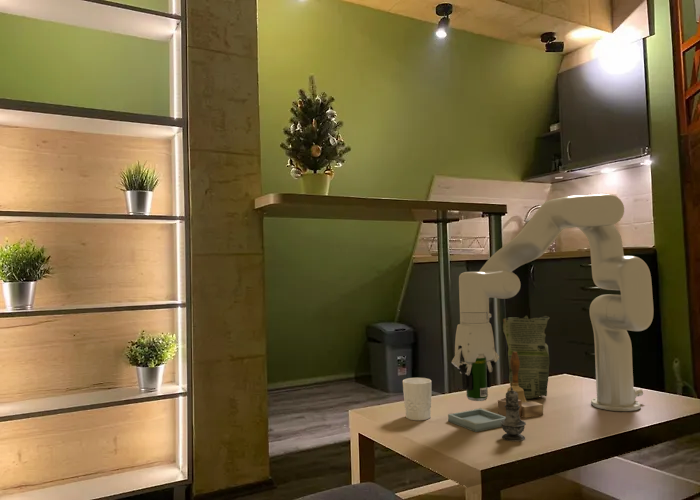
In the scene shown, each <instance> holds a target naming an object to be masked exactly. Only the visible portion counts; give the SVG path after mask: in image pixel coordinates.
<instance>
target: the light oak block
mask: <svg viewBox="0 0 700 500" xmlns="http://www.w3.org/2000/svg"><path fill="white" fill-rule="evenodd" d="M543 415H544V405H543V404H542V403H540V402H537V401H527V402H524V403H522V416H523V417H522V418H530V416H532V417H537V416H543Z"/></svg>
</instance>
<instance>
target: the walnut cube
mask: <svg viewBox="0 0 700 500" xmlns="http://www.w3.org/2000/svg"><path fill="white" fill-rule="evenodd" d="M505 405H506V397H505V398H501V399H497V414H499V415H502V416H505V417H506V408H505V407H504V406H505ZM518 405H519V406H520V408H519V416H520V418H523V417H522V401H521V400H518Z"/></svg>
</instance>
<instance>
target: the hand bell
mask: <svg viewBox="0 0 700 500" xmlns="http://www.w3.org/2000/svg"><path fill="white" fill-rule="evenodd" d="M510 365H511V370H512V380H513V381H512V386H510V387H508V388H507V390H506V391H507V392H508V391H510V390H511V387H512V388H513V391H515V392H517V393H518V400H521V401H522V403H524V402H528V400H527V399H525V395H524V390H523V389H522V388H521V387H519V385H518V371H519V367H520V361H519V357H518V354H517V352H512V356H511V360H510ZM507 392H506V393H507Z"/></svg>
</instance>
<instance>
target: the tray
mask: <svg viewBox="0 0 700 500" xmlns="http://www.w3.org/2000/svg"><path fill="white" fill-rule="evenodd" d="M447 417H448V418H447V420H448V422H449V423H452V424H454V425H457V426H460V427H462V428H465V429H467V430H469V431H472V432H474V433H477V432H482V431H486V430H487V431H488V430H492V429H497V428H502V424H501V423H500V421H502V420H504V419H505V418H506V417H505V416H502V415H499V414H498V413H495V412H492V411H490V410H486V409H483V408H481V407H480V408H475V409H470V410H465V411H459V412H455V413H449V414H447Z"/></svg>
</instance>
